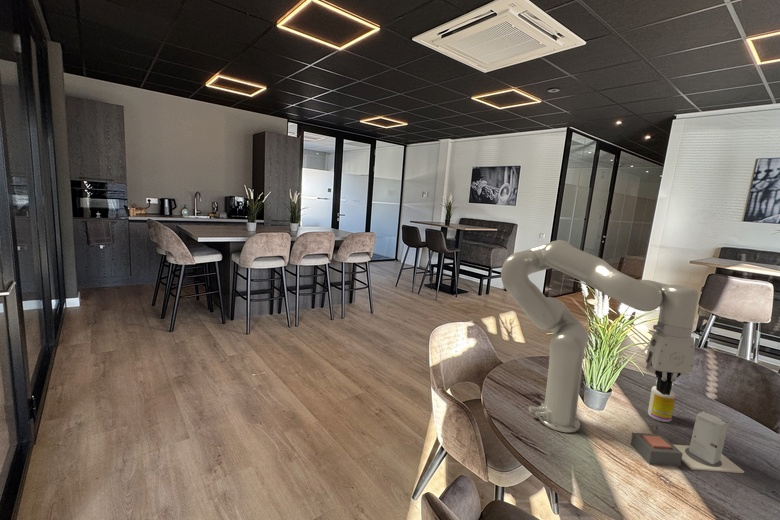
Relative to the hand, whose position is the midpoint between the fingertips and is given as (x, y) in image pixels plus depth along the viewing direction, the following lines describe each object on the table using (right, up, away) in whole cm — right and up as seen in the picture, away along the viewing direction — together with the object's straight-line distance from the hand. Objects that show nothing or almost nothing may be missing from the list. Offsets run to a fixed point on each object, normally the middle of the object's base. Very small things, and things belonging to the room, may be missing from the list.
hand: (662, 392), depth 101 cm
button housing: (-1, -19, +2) cm, 19 cm away
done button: (-1, -17, +2) cm, 18 cm away
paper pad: (+13, -20, +2) cm, 23 cm away
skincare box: (+13, -19, +2) cm, 23 cm away
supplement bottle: (+16, -17, +22) cm, 32 cm away
